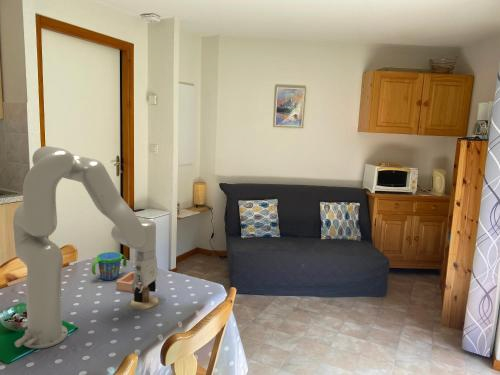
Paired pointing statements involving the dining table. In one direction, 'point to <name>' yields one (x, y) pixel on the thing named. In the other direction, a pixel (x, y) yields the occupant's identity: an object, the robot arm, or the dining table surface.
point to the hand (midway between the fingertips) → (145, 296)
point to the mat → (160, 301)
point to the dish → (126, 283)
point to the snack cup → (109, 265)
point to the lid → (145, 300)
